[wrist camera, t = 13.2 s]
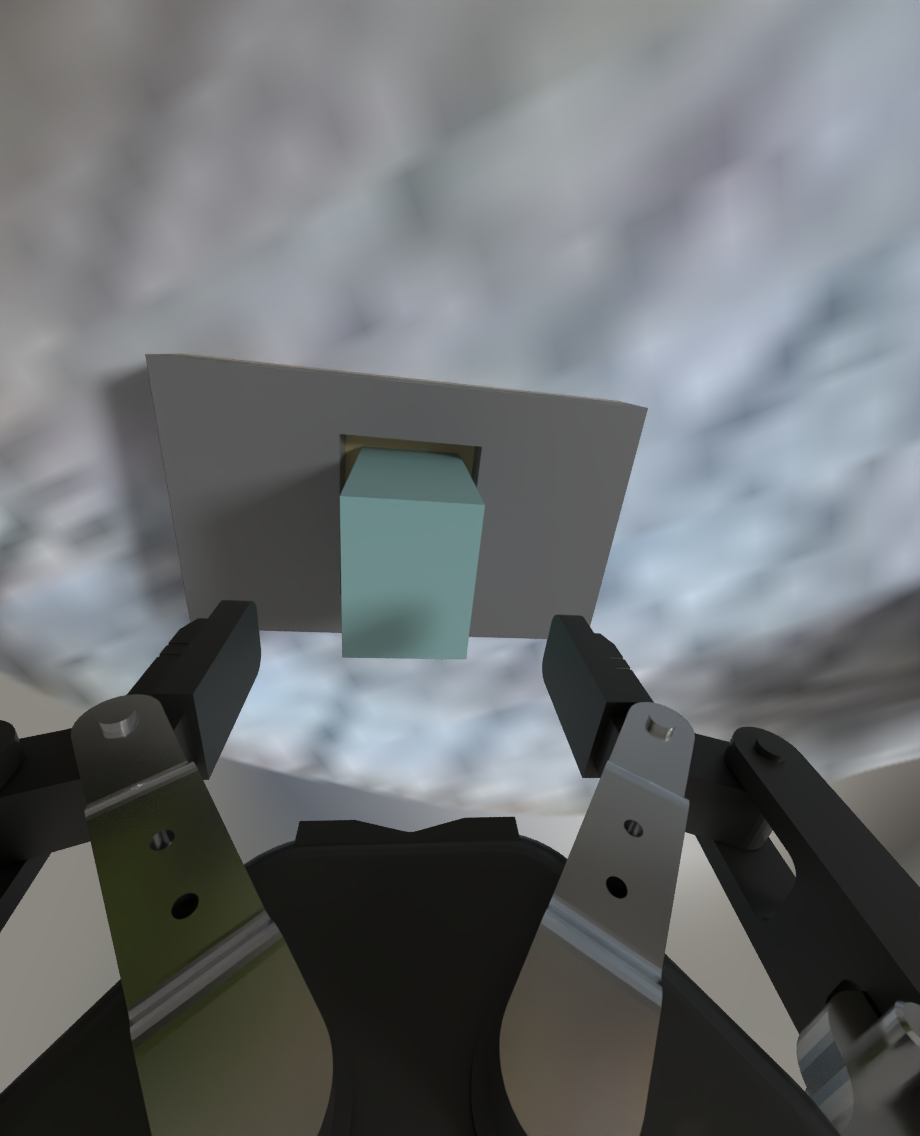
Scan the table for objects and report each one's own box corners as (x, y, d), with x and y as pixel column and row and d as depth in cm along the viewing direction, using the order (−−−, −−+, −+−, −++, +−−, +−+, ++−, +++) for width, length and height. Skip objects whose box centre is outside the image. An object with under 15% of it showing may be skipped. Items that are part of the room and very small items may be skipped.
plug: (362, 446, 21) (339, 496, 14) (459, 453, 22) (484, 505, 14) (362, 563, 24) (342, 657, 16) (448, 567, 24) (466, 659, 17)
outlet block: (181, 353, 20) (145, 354, 17) (618, 401, 22) (647, 408, 20) (214, 597, 25) (191, 628, 22) (568, 611, 27) (586, 640, 25)
